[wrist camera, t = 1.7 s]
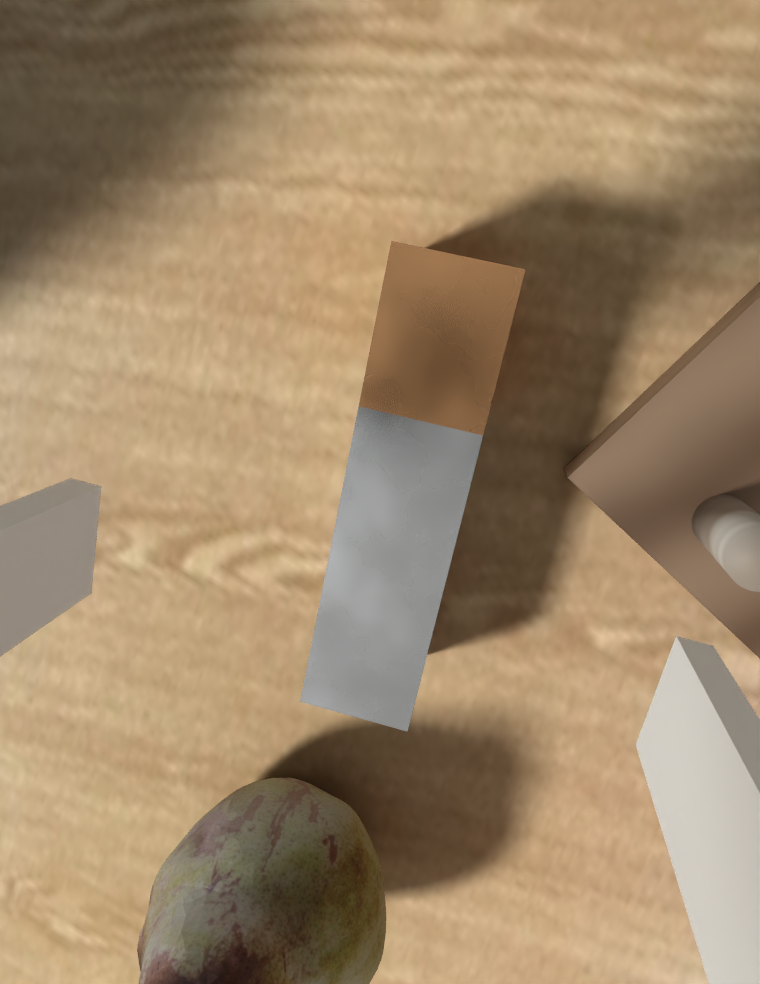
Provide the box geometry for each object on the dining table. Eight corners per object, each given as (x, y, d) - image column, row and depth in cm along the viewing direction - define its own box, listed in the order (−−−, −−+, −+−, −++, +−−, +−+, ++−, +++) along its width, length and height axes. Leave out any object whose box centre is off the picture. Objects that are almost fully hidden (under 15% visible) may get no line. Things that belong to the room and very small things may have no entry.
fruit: (331, 708, 31) (236, 943, 20) (444, 864, 32) (416, 1169, 21) (166, 795, 34) (-1, 1044, 23) (276, 935, 35) (170, 1239, 24)
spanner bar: (423, 656, 30) (407, 731, 24) (334, 632, 30) (300, 701, 25) (519, 276, 25) (525, 269, 20) (412, 253, 25) (391, 241, 20)
